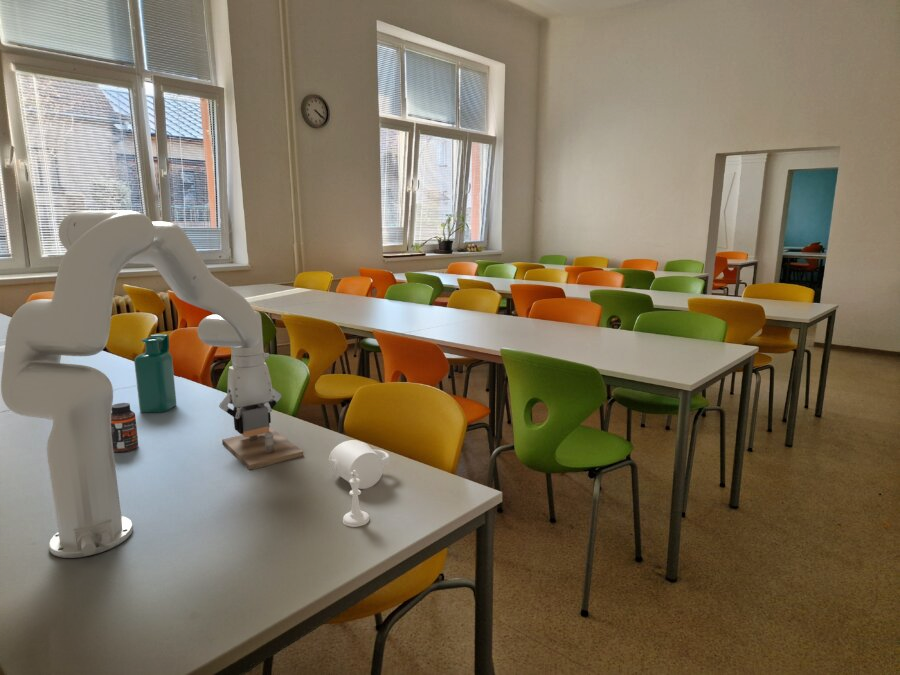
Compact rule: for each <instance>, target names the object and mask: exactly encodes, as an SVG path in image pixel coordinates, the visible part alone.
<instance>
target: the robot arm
mask: <svg viewBox="0 0 900 675" xmlns="http://www.w3.org/2000/svg"><path fill="white" fill-rule="evenodd" d="M58 237H59V241H60V242H61V244H62V246H63V247H64V248H65V250H66V252H65V253H64V255H63V256H62V258H61V261H60V263H59V266H58V269H57V274H56V280H55V284H54V290H53V295H52V298H51V299H50V298H48V299H47V298H40V299H34V300H29V301H28V302H26V303H23V304H22V305H20V306H19V308H18V309H16V311H15V312H14V313H13V315H12V317H11V318H10V321H9V323H8V325H7V331H6V337H5V345H4V352H3V361H2V362H3V363H2V370H1V381H0V392H1V398H2V400H3V402H4V405H5V406H6V407H7V408H8V410H10V411H11V412H12V413H14V414H16V415H20V416H24V417H28V418H36V419H45V420H49V421H52V427H51V430H50V433H49V435H48V438H47V442H46V457H47V464H48V472H49V478H50V484H51V485H50V486H51V492H52V498H53V505H54V510H55V519H56V525H57V532H56V533H54V535H53V536H52V537H51V539H50V540H49V542H48V547H49V548H48V549H49V552H50V554H52V555H53V556H56V557H58V558H64V559H74V558H75V559H76V558H78V559H79V558H85V557H89V556H93V555H96V554H100V553H103V552H105V551H108V550H110V549H112V548H114V547H117V546H119V545H120V544H122V543H123V542H125V541H126V540H128V538H129V537H130V536H131V535H132V533H133V531H134V530H133V529H134V526H133V522H132V520H131V519H129V517H126V516H122V510H121V505H120V504H121V503H120V495H119V487H118V480H117V479H118V476H117V470H116V461H115V451H113V444H112V434H111V413H112V405H113V402H114V401H113V400H114V388H113V383H112V382H111V380H110V378H109V377H108V376H107V375H106V374H105V373H104V372H102V371H101V370H100V369H97V368H96V367H91V366H88V365H83V364H76V363H75V364H73V363H62V362H61V358H62V356H63V357H64V356H66V357H90V356H95V355H97V354H99V353H101V352H102V351H103V350H104V349H105V348H106V346H107V344H108V341H109V337H110V332H111V330H110V329H111V323H112V313H113V312H112V311H113V303H114V293H115V290H116V289H115V288H116V283H117V278H118V276H120V275H119V274H120V272H121V271H122V270H123V268H124V267H125V266H126V265H127V264H134V265H135V264H139V265H140V264H142V265H148V264H149V265H152V266H154V267H155V269H156V271H158V273H159V274H160V275H161V277H162V278H163V280H164V282H166V284H167V285H168V287H169V288H170V289H171V291H172V292H173V294H174V295H175V296H176V297H177V298H178V299H179V300H181V301H183V302H185V303H187V304H189V305H192V306H195V307H196V308H199V309H202V310H206V311H207V312H208V311H209V312H211V313H212V314H211V315H208V316H205V317H204V318H203V319H202V320H201V321H200V322H199V324H198V325H197V326H198V327H197V336H198V338H199V339H200V341H201V342H202V343H203V344H206V345H207V346H211V347H219V348H230V353H231V364H232V365H231V366H229V367H228V371H227V389H226V390H227V394H226V396H225V397H224V398H223V400H222V401H221V402H220V403H219V406H218V407H219V408H220V409H221V410H223V411H224V412H225V413H227V414H229V415H230V416H232V417H233V426H234V430H235V431H236V432H237V433H239V434H240V435H242V434H243V422H242V418H241V416H240V415H241V411H242V409H243V407H247V406H252V405H257V404H263V405H264V406H266V407H267V408H268V420H269V424H272V423H271V422H272V420H271V419H272V418H271V412H272V411H273V409H274V407H275V406H276V405H277V402H278V401H280V399H281V398H282V394H281V393H280V392H278V391H277V390H276V389H275V388H273V386H272V377H271V375H270V370H269V367H268V364H267V363H266V360H267V359H269V358H270V353H269V352H265V351H264V336H263V324H262V314H261V313H260V312H259V311H258V310H254V308H253V307H252V306H251V304H250V303H249V301H248V300H247V299H246V298H245V297H244V296H243V295H241V294H240V293H239V292H237V291H236V290H234V289H233V287H231V286H229V285H228V284H227V283H225V282H224V281H221V280H220V279H218V278H217V277H215V276H214V275H213V274H212V273H211V271H210V269H209V267H208V266H207V265H206V264H205V262H204V260H203V258H202V257H201V256H200V254H199V252H198V250H197V248H195V245H193V243H192V241H191V240H190V238H189V236H188V235H187V233H186V232H185V231H184V230H183V228H182V227H181V226H179V225H178V224H175V223H173V222H168V221H152V219H151V218H150V217H148V216H147V215H146V214H144V213H142V212H138V211H134V210H127V209H126V210H123V209H122V210H121V209H120V210H119V209H117V210H116V209H115V210H81V211H74V212H72V213H71V212H70V213H69V214H68V215H66V216H65V217H64V218H63V219H62V221H60V224H59V228H58ZM229 404H230V405H233V407H232V408H230V407H229V406H228V405H229ZM269 428H270V425H269Z"/></svg>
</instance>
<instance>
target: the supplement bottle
mask: <svg viewBox="0 0 900 675" xmlns="http://www.w3.org/2000/svg"><path fill="white" fill-rule="evenodd" d="M136 418H137V417H136V413H135V412H134V411H133V410H131V404H130V403H129V402H119V403H114V404H112V411H111V434H112V444H113V452H114V453H115V452H116V453H126V452H130V451H132V450H134V449H136V448H138V447H139V436H138V427H137V426H138V425H137V419H136Z"/></svg>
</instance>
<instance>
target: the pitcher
mask: <svg viewBox="0 0 900 675" xmlns="http://www.w3.org/2000/svg"><path fill="white" fill-rule="evenodd" d="M141 342H142V343H144V349H145V351H144V352H143V353H140V354H138V355H137V356H135V358H134V360H133V361H134V371H135V372H134V373H135V381H136V388H137V389H136V390H137V400H138V408H139V411H140V412H141V413H166V412H168V411H169V410H171V409H172V408H175V407H176V406H177V396H176V395H177V394H176V385H175V375H174V365H173V356H172V354H171V352H169V351H170V334H168V333H165V334H162V333H161V334H157V333H156V334H154V333H153V334H150V337H145V338H142V339H141Z"/></svg>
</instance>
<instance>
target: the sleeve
mask: <svg viewBox="0 0 900 675" xmlns="http://www.w3.org/2000/svg"><path fill="white" fill-rule="evenodd" d="M240 416H241V418H242V422H243V434H241V435H243V436H244V437H245V438H246V437H251V436H255V435H259V434H264V433H267V432H269V429H270V427H269V426H270V423H269V420H268V408H267V407H266V406H264V405H263V404H257V405H252V406H247V407H243V409H242V411H241V415H240Z"/></svg>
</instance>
